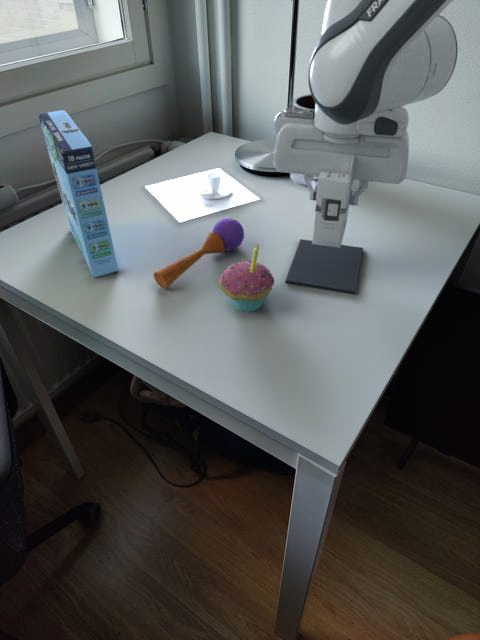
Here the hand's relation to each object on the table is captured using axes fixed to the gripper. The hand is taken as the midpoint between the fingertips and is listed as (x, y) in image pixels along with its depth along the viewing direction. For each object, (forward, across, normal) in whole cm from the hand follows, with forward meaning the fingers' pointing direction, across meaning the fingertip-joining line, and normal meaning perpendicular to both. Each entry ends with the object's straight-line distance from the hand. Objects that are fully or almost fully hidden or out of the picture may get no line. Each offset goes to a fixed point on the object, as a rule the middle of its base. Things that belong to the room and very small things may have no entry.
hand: (334, 201), depth 75 cm
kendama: (+13, -22, -5) cm, 26 cm away
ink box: (+6, 0, 0) cm, 6 cm away
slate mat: (+13, 0, 0) cm, 13 cm away
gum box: (+13, -44, -6) cm, 46 cm away
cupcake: (+13, -11, -14) cm, 22 cm away
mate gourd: (+13, -8, +38) cm, 41 cm away
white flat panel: (+13, -32, +22) cm, 41 cm away
